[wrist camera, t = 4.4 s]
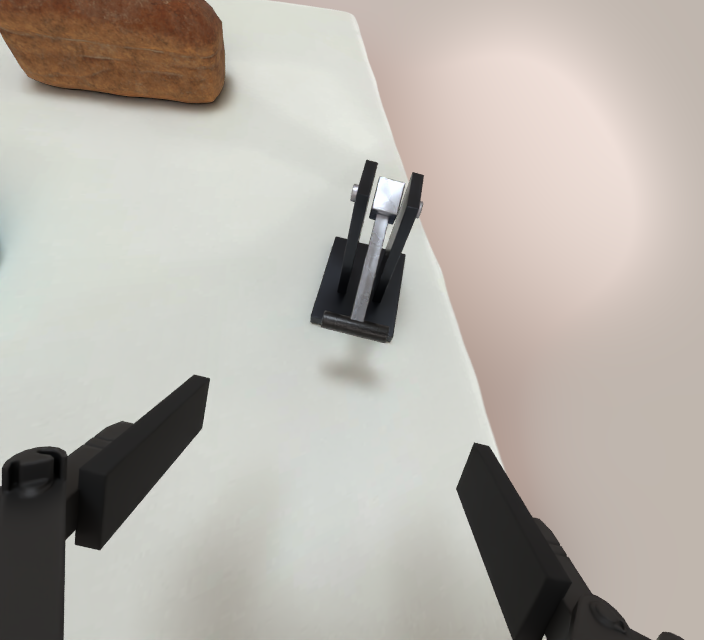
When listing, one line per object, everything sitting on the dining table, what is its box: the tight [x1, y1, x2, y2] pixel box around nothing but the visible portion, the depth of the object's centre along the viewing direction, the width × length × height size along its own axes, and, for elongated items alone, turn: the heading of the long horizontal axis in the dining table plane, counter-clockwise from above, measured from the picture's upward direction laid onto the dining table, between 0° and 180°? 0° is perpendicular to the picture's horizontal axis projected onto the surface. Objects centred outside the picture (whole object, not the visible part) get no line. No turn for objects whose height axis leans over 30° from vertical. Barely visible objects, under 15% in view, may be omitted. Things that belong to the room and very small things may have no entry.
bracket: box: [310, 160, 424, 342], centre depth 33 cm, size 12×9×15 cm
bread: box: [0, 0, 225, 103], centre depth 48 cm, size 14×28×12 cm, turn 93°
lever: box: [321, 177, 405, 343], centre depth 28 cm, size 13×6×2 cm, turn 169°
